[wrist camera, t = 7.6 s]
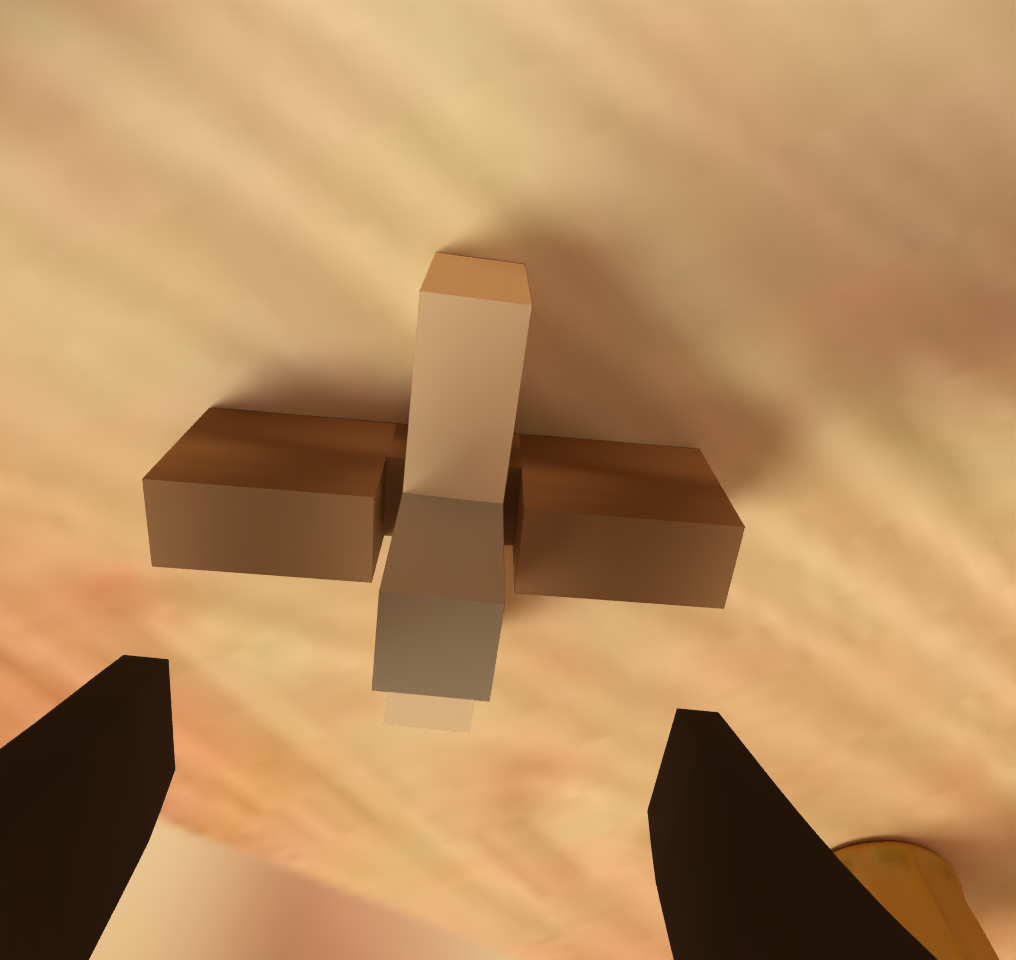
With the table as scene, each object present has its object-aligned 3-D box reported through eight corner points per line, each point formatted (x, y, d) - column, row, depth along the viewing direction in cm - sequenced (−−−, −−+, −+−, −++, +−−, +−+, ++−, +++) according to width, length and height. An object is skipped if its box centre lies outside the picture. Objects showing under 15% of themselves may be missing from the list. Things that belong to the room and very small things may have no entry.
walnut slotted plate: (214, 482, 20) (152, 566, 16) (209, 407, 19) (142, 478, 15) (684, 519, 21) (724, 609, 17) (699, 449, 20) (744, 527, 16)
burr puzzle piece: (474, 628, 22) (464, 863, 15) (401, 621, 22) (359, 855, 15) (524, 264, 18) (542, 364, 11) (435, 252, 18) (397, 346, 11)
